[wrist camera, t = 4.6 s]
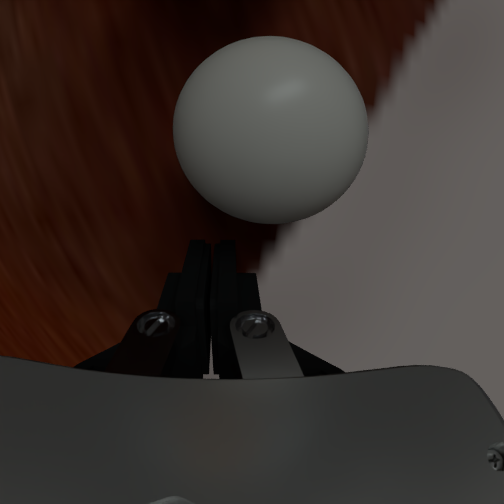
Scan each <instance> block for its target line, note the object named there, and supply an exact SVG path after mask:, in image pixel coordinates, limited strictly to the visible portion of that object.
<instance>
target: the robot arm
mask: <svg viewBox="0 0 504 504" xmlns="http://www.w3.org/2000/svg"><path fill="white" fill-rule="evenodd" d="M211 339H212V354H213V355H212V356H213V371H214V374H219V379H203V374H209V363H210V343H211ZM0 504H504V420H503V418H502V417H501V415H500V413H499V412H498V410H497V409H496V407H495V406H494V404H493V403H492V401H491V400H490V398H489V397H488V396H487V394H486V393H485V392H484V391H483V389H482V388H481V387H480V386H479V385H478V384H477V383H476V382H475V381H474V380H473V379H472V378H471V377H469V376H468V375H467V374H465V373H463V372H461V371H458V370H455V369H451V368H446V367H439V366H432V365H410V366H397V367H389V368H381V369H372V370H363V371H355V372H344V371H342V370H341V369H339V368H338V367H336V366H334V365H332V364H330V363H328V362H326V361H324V360H322V359H320V358H318V357H316V356H314V355H313V354H311V353H309V352H307V351H305V350H303V349H302V348H300V347H298V346H296V345H294V344H292V343H291V342H289V341H288V340H287V338H286V335H285V333H284V331H283V329H282V327H281V324H280V322H279V321H278V320H277V318H276V317H274V316H273V315H272V314H270V313H267V312H264V311H262V310H261V303H260V297H259V290H258V284H257V277H256V273H236V254H235V240H221V243H220V244H215V248H214V259H213V269H212V273H211V244H205V240H190V244H189V247H188V251H187V255H186V258H185V262H184V266H183V270H182V273H168V276H167V279H166V282H165V285H164V288H163V291H162V294H161V298H160V301H159V304H158V307H157V309H154V310H149V311H146V312H143V313H142V314H140V315H138V316H137V317H136V318H135V320H134V321H133V322H132V324H131V326H130V327H129V329H128V331H127V333H126V334H125V336H124V338H123V339H122V341H121V342H120V343H118V344H117V345H115V346H113V347H111V348H109V349H107V350H105V351H103V352H101V353H99V354H97V355H95V356H93V357H91V358H89V359H87V360H85V361H83V362H81V363H79V364H77V365H76V366H74V367H67V366H61V365H56V364H50V363H45V362H40V361H34V360H28V359H22V358H17V357H11V356H1V355H0Z"/></svg>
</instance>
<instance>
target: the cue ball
mask: <svg viewBox="0 0 504 504" xmlns="http://www.w3.org/2000/svg"><path fill="white" fill-rule="evenodd" d="M368 134H369V131H368V119H367V113H366V108H365V105H364V102H363V99H362V96H361V94H360V92H359V90H358V88H357V86H356V84H355V83H354V81H353V80H352V78H351V77H350V75H349V74H348V73H347V72H346V71H345V70H344V69H343V68H342V66H341V65H340V64H339V63H338V62H337V61H335V60H334V59H333V58H332V57H331V56H329V55H328V54H326V53H325V52H323V51H321V50H320V49H318V48H316V47H314V46H313V45H310V44H307V43H305V42H302V41H299V40H295V39H291V38H286V37H278V36H263V37H252V38H248V39H244V40H240V41H237V42H234V43H232V44H229V45H227V46H225V47H223V48H221V49H220V50H218V51H216V52H215V53H213V54H212V55H211V56H209V57H208V58H207V59H206V60H204V61H203V62H202V63H201V64H200V65H199V66H198V67H197V68H196V69H195V70H194V72H193V73H192V74H191V76H190V77H189V78H188V80H187V82H186V83H185V85H184V87H183V89H182V91H181V93H180V96H179V98H178V101H177V104H176V108H175V113H174V119H173V137H174V146H175V150H176V154H177V158H178V160H179V163H180V165H181V167H182V169H183V171H184V173H185V175H186V177H187V178H188V180H189V182H190V183H191V184H192V185H193V187H194V188H195V189H196V190H197V191H198V192H199V193H200V195H201V196H202V197H204V198H205V199H206V200H207V201H208V202H209V203H211V204H212V205H214V206H215V207H217V208H218V209H220V210H221V211H223V212H225V213H227V214H229V215H231V216H233V217H236V218H239V219H243V220H246V221H249V222H255V223H263V224H283V223H289V222H294V221H298V220H301V219H305V218H308V217H310V216H313V215H315V214H317V213H319V212H321V211H323V210H324V209H326V208H327V207H329V206H330V205H331V204H333V203H334V202H335V201H336V200H337V199H339V198H340V197H341V196H342V195H343V194H344V192H345V191H346V190H347V189H348V188H349V187H350V185H351V184H352V182H353V181H354V180H355V178H356V176H357V174H358V172H359V171H360V168H361V166H362V164H363V161H364V158H365V154H366V150H367V144H368Z"/></svg>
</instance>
